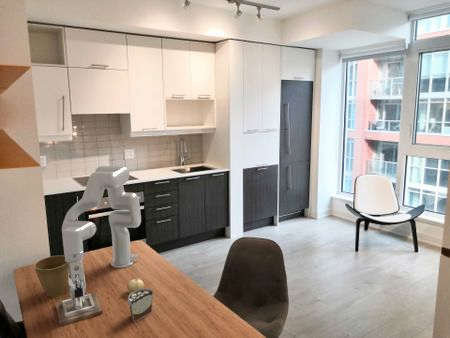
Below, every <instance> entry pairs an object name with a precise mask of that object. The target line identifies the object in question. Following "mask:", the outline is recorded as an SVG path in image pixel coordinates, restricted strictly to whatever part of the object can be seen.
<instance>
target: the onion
mask: <svg viewBox="0 0 450 338" xmlns="http://www.w3.org/2000/svg"><path fill="white" fill-rule="evenodd" d="M139 289H145V283H144V281H143V280H142V279H141V278H140V277H138V276H136V278H133V279H131V280H130V281H128V283H127V285H126V290H127V291H128V293H129V294H131V293H132V292H134V291H136V290H139Z"/></svg>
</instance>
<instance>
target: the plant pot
mask: <svg viewBox="0 0 450 338" xmlns="http://www.w3.org/2000/svg"><path fill="white" fill-rule="evenodd" d="M33 266H34V270H35V273H36V275H37V278H38V281H39V283H40V286H41V287H42V289H43V290H44V292H45V294H46V295H47V296H48V297H50V298H52V297H58V296H61V295H62V294H63V293H64V292H65V288H66V286H67V283H68V276H69V265H68V262H66V261H65V256H64V255H52V256H48V257H44V258H41V259H40V260H38V261H37V262H36V263H35V264H34V265H33Z"/></svg>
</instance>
